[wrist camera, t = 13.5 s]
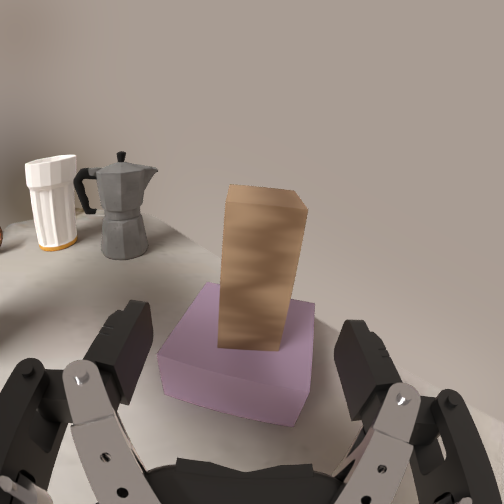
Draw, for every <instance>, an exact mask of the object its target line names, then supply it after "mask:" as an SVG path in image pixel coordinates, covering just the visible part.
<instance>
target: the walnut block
mask: <svg viewBox="0 0 504 504" xmlns="http://www.w3.org/2000/svg"><path fill="white" fill-rule="evenodd" d="M307 213H308V209H307V207H306V206H305V205H304V203H303V202H302V200H301V199H300V198H299V196H298V195H297V194H296V192H295V191H291V190H284V189H275V188H266V187H254V186H245V185H234V184H230V186H229V190H228V194H227V198H226V203H225V217H224V230H223V245H222V261H221V278H220V297H219V319H218V344H217V348H224V349H237V350H254V351H279V347H280V343H281V339H282V334H283V330H284V326H285V321H286V317H287V313H288V308H289V304H290V299H291V295H292V290H293V285H294V281H295V276H296V271H297V265H298V261H299V256H300V251H301V245H302V241H303V235H304V229H305V224H306V219H307Z"/></svg>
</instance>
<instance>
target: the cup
mask: <svg viewBox="0 0 504 504" xmlns="http://www.w3.org/2000/svg"><path fill="white" fill-rule="evenodd" d="M25 172H26V182H27V186H28V188H29V189H30V195H31V203H32V209H33V216H34V222H35V227H36V232H37V237H38V242H39V246H40V248H41V249H42V250H45V251H57V250H61V249H64V248H67V247H69V246H71V245H73V244H74V243H75V242H76V241H77V229H76V217H75V202H74V184H73V180H74V178H75V176H76V155H62V156H54V157H49V158H43V159H39V160H34V161H32V162H28V163H26V164H25Z"/></svg>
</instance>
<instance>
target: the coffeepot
mask: <svg viewBox="0 0 504 504" xmlns="http://www.w3.org/2000/svg"><path fill="white" fill-rule="evenodd" d="M125 155H126V152H122V151H121V152H118V153H117V159H118V162H117V163H114V164H112V165H109V166H106V167H104V168H83V169H81V170H80V171H79V172H78V173H77V175H76V176H75V178H74V180H73V184H74V187H75V190H76V192H77V194H78V197H79V199H80V202H81V204H82V207H83V209H84V211H85V213H86V214H95V213H96V210H97V209H91V208H90V207H89V201H88V198H87V196H86V194H85V188H84V185H83V183H82V180H83V179H96V180H97V185H98V191H99V196H100V201H101V206H102V208H103V209H104V213H105V217H104V218H103V225H102V241H101V251H102V252H103V254H104V255H105V256H106V257H108V258H110V259H114V260H127V259H132V258H136V257H138V256H140V255H142V254H143V253H144V252H145V251H146V249H147V247H148V242H147V237H146V233H145V228H144V223H143V219H142V215H141V214H140V206H141V205H142V203H143V195H144V190H145V188H146V187H147V185H148V183H149V181H150V180H151V178H152V177H153V175H154V174H155V173H156V172H158V170H157V168H155V167H150V166H144V165H137V164H132V163H127V162H124V160H125Z"/></svg>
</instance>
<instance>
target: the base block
mask: <svg viewBox="0 0 504 504" xmlns="http://www.w3.org/2000/svg"><path fill="white" fill-rule="evenodd" d="M219 297H220V284H215V283H210V282H207V283H206V284H205V285H204V287H203V288H202V290H201V291H200V292H199V294H198V295H197V297H196V298H195V299H194V301H193V302H192V304H191V305H190V307H189V308H188V309H187V311H186V312H185V314H184V315H183V317H182V318H181V319H180V321H179V322H178V324H177V325H176V327H175V328H174V330H173V331H172V332H171V334H170V335H169V337H168V338H167V340H166V341H165V343H164V344H163V345H162V347H161V348H160V350H159V351H158V353H157V359H158V365H159V370H160V375H161V380H162V385H163V390H164V394H165V395H168V396H171V397H174V398H177V399H180V400H183V401H186V402H189V403H192V404H195V405H198V406H202V407H205V408H208V409H212V410H215V411H219V412H223V413H227V414H231V415H235V416H239V417H243V418H248V419H252V420H257V421H262V422H267V423H272V424H278V425H284V426H290V427H294V425H295V423H296V420H297V418H298V416H299V414H300V412H301V410H302V408H303V406H304V403H305V401H306V399H307V397H308V394H309V392H310V382H311V369H312V354H313V336H314V312H315V304H314V303H309V302H304V301H299V300H294V299H290V304H289V308H288V313H287V317H286V321H285V326H284V330H283V334H282V339H281V343H280V347H279V351H254V350H237V349H224V348H217V344H218V319H219Z"/></svg>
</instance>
